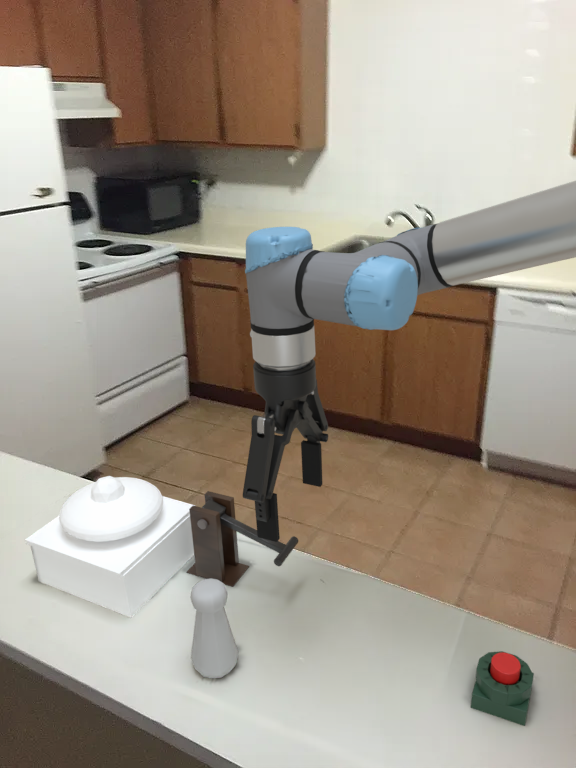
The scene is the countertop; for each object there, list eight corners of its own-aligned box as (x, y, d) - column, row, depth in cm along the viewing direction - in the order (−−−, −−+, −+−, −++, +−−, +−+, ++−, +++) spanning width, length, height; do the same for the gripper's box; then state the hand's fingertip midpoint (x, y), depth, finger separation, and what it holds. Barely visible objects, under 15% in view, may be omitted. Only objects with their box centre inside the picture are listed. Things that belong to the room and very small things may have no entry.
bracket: (251, 570, 101) (246, 498, 96) (231, 595, 96) (225, 520, 91) (206, 556, 104) (199, 486, 99) (185, 580, 99) (176, 507, 94)
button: (521, 668, 78) (522, 657, 77) (516, 689, 75) (518, 677, 74) (492, 660, 79) (494, 648, 78) (487, 680, 76) (489, 668, 76)
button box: (532, 686, 80) (536, 661, 78) (525, 726, 75) (529, 700, 73) (480, 669, 82) (482, 645, 81) (469, 708, 77) (472, 682, 76)
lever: (296, 547, 95) (300, 535, 94) (279, 571, 90) (283, 558, 89) (213, 505, 99) (215, 493, 98) (193, 526, 94) (195, 513, 93)
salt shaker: (185, 682, 82) (174, 598, 77) (204, 647, 87) (195, 567, 82) (229, 692, 80) (221, 607, 75) (246, 656, 85) (239, 575, 80)
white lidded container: (203, 550, 105) (194, 463, 99) (129, 626, 91) (112, 529, 85) (117, 523, 113) (104, 440, 107) (36, 588, 99) (14, 497, 92)
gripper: (299, 325, 92) (304, 460, 100) (201, 395, 72) (219, 557, 80) (350, 330, 89) (351, 469, 97) (263, 405, 68) (275, 573, 77)
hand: (292, 509), depth 89 cm, fingers open, 13 cm apart
